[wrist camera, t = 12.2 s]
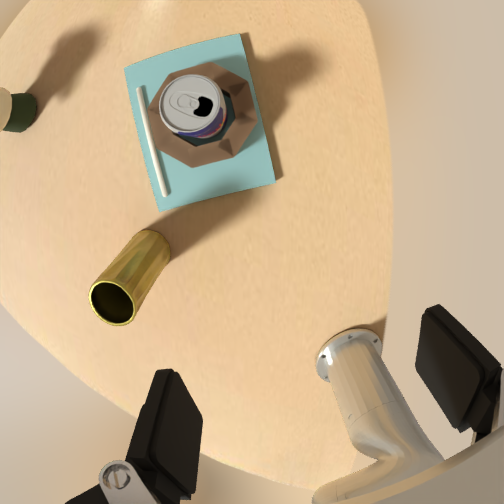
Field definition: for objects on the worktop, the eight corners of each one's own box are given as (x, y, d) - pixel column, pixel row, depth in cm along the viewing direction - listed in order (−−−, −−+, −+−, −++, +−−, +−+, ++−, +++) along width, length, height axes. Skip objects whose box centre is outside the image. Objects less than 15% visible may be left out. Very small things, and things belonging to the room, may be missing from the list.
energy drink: (219, 144, 32) (209, 143, 21) (177, 131, 31) (147, 125, 20) (234, 103, 30) (233, 81, 19) (192, 91, 29) (170, 65, 18)
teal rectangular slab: (274, 181, 35) (276, 183, 33) (161, 210, 36) (157, 213, 34) (239, 36, 28) (239, 31, 26) (127, 69, 28) (122, 66, 27)
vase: (141, 220, 36) (96, 263, 23) (179, 245, 38) (151, 299, 24) (122, 255, 38) (77, 307, 24) (157, 278, 39) (126, 340, 26)
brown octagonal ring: (262, 150, 33) (264, 150, 29) (170, 173, 33) (163, 176, 30) (240, 63, 28) (241, 55, 25) (149, 88, 29) (141, 83, 26)
